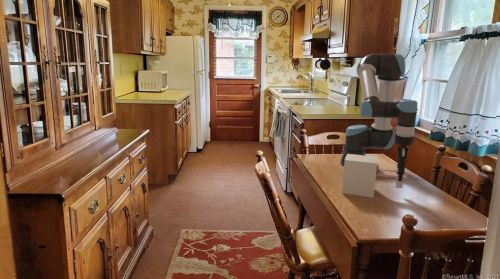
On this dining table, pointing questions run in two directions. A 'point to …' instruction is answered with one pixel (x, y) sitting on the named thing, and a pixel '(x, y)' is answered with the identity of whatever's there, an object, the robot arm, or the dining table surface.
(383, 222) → the dining table surface
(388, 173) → the ticket strip
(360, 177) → the block
